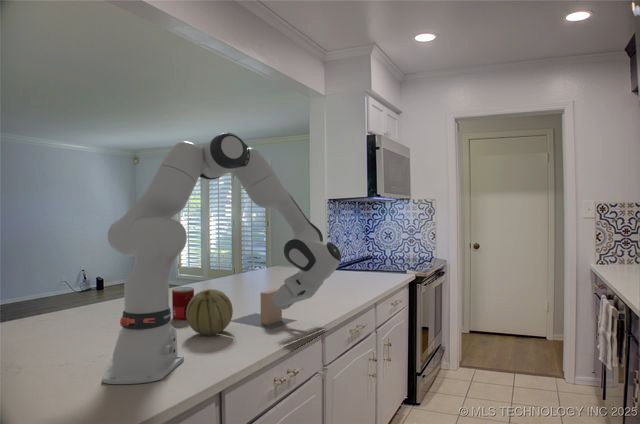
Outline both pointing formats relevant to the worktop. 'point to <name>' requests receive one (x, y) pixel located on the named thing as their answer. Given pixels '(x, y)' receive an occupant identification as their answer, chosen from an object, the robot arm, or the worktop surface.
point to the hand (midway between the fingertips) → (284, 307)
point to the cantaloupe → (209, 312)
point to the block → (269, 308)
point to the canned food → (181, 301)
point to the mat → (256, 321)
